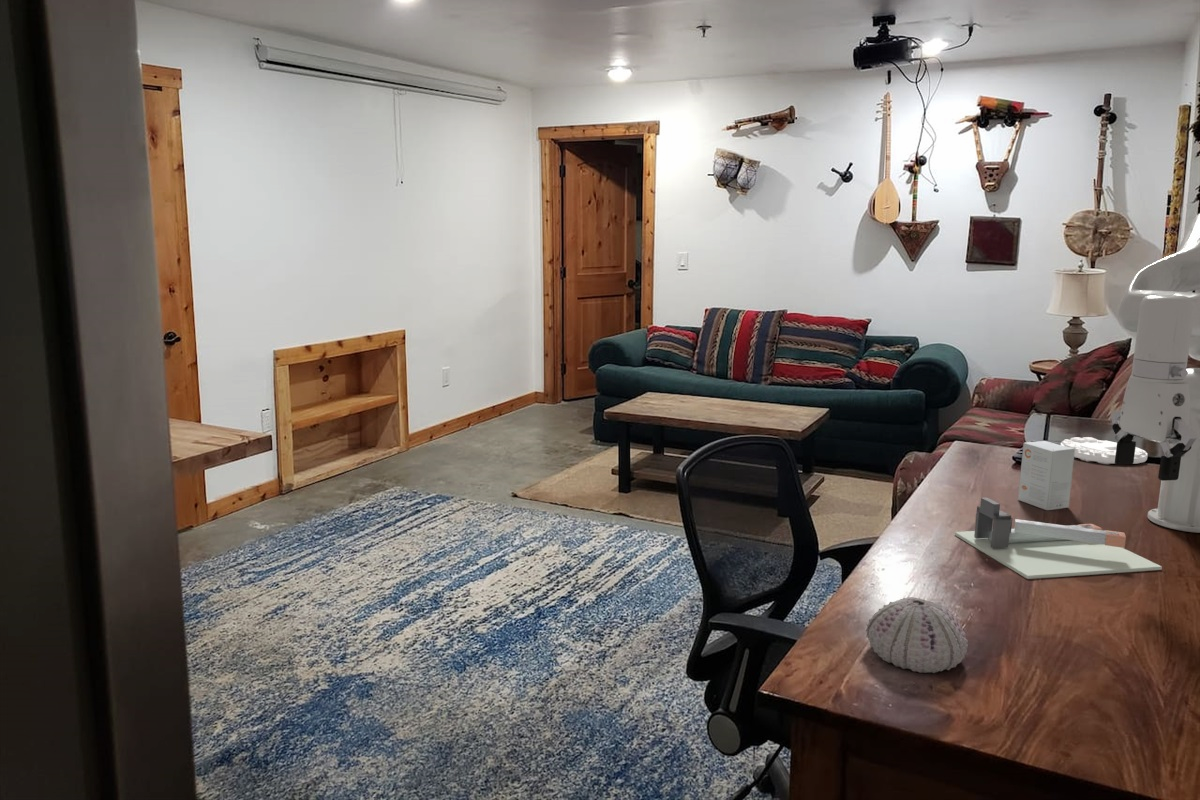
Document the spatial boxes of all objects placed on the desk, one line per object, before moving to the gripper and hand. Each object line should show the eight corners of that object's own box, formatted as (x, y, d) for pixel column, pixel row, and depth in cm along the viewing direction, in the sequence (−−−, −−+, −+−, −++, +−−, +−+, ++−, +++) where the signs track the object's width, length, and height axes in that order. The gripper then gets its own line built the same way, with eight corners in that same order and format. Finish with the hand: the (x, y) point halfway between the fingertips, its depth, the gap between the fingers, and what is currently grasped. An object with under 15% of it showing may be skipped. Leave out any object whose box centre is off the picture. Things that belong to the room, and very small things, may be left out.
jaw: (1123, 543, 159) (1124, 532, 158) (1124, 547, 156) (1125, 537, 156) (1014, 528, 166) (1015, 518, 166) (1014, 532, 164) (1015, 522, 163)
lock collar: (988, 536, 169) (992, 495, 167) (1008, 547, 163) (1012, 505, 161) (974, 537, 168) (978, 496, 166) (993, 548, 162) (997, 506, 161)
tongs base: (1090, 538, 171) (1093, 510, 170) (1100, 542, 168) (1103, 515, 167) (986, 544, 167) (989, 516, 166) (994, 549, 164) (997, 521, 163)
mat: (1074, 527, 176) (1074, 525, 176) (1161, 569, 155) (1161, 566, 155) (954, 534, 172) (954, 532, 172) (1027, 579, 151) (1027, 575, 150)
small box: (1069, 508, 189) (1076, 448, 186) (1046, 511, 187) (1053, 451, 184) (1039, 497, 196) (1045, 440, 194) (1016, 500, 194) (1022, 442, 192)
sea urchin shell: (981, 654, 124) (986, 600, 123) (944, 691, 114) (949, 633, 113) (890, 625, 133) (894, 575, 131) (848, 657, 123) (852, 603, 121)
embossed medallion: (1163, 467, 223) (1164, 456, 222) (1084, 466, 223) (1085, 455, 223) (1118, 447, 242) (1119, 437, 242) (1046, 446, 243) (1047, 436, 242)
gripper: (1223, 379, 138) (1207, 485, 141) (1139, 362, 154) (1126, 458, 158) (1180, 380, 136) (1165, 487, 140) (1100, 363, 153) (1089, 459, 156)
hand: (1145, 471), depth 149 cm, fingers open, 9 cm apart
